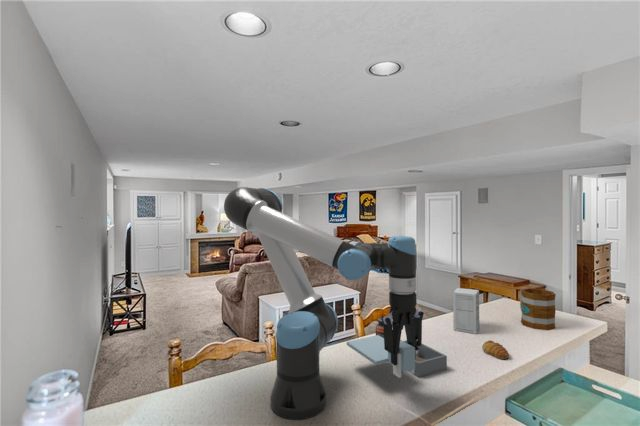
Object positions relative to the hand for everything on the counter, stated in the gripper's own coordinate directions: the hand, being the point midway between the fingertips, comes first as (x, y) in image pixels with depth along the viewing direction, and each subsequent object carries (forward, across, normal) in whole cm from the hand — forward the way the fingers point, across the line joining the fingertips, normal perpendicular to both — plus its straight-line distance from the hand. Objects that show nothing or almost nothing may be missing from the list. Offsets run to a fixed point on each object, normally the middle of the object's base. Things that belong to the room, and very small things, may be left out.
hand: (403, 373), depth 97 cm
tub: (+6, +16, +13) cm, 21 cm away
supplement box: (+7, +59, +29) cm, 66 cm away
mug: (+7, +93, +21) cm, 95 cm away
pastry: (+7, +48, +7) cm, 49 cm away
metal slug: (+6, +18, +16) cm, 25 cm away
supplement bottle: (+6, +14, +28) cm, 32 cm away
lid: (-2, 0, +9) cm, 9 cm away
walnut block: (+6, +13, +10) cm, 17 cm away
